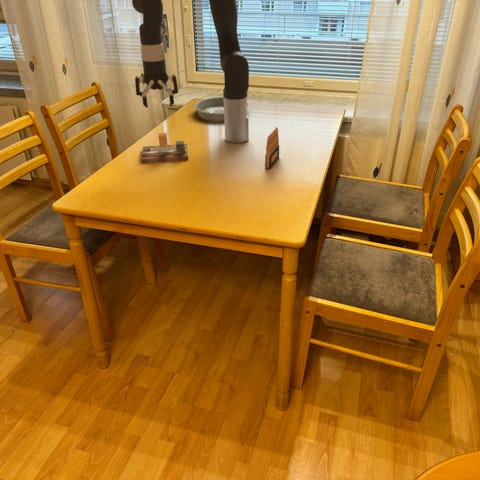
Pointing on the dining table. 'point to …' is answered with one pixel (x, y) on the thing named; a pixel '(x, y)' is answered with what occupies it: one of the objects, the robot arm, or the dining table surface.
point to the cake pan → (208, 103)
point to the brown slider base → (165, 153)
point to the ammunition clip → (272, 149)
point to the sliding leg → (163, 142)
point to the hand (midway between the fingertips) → (159, 106)
